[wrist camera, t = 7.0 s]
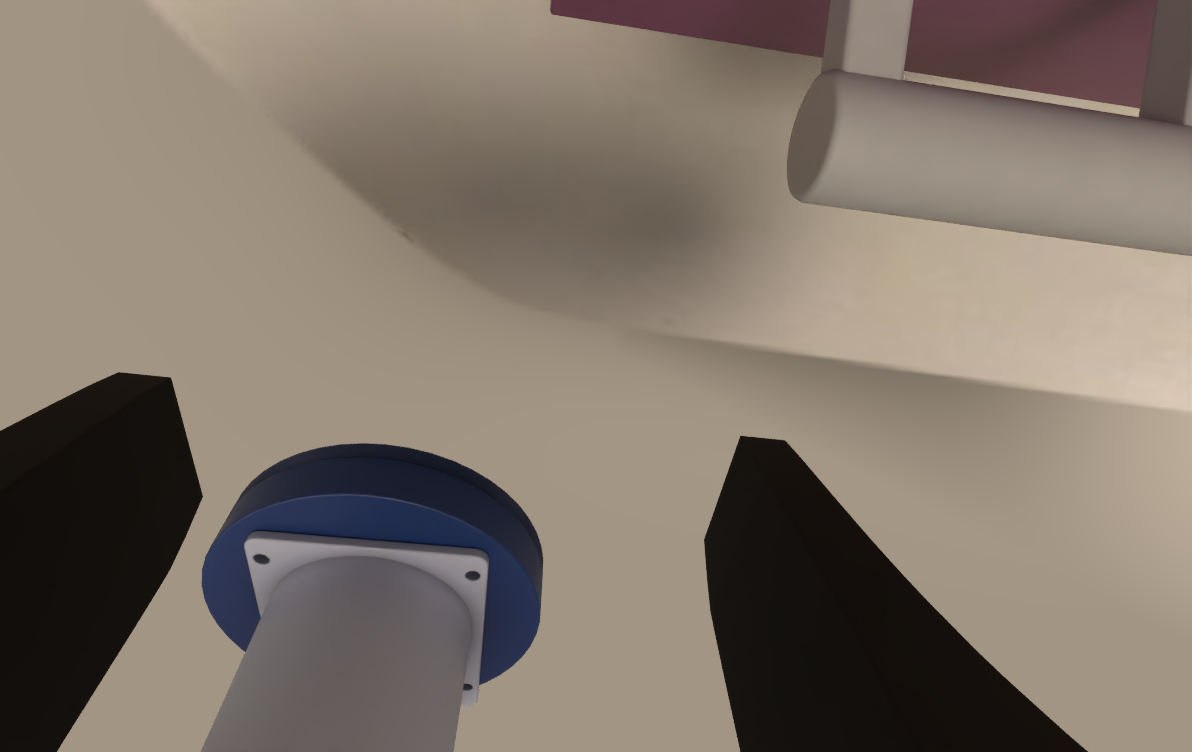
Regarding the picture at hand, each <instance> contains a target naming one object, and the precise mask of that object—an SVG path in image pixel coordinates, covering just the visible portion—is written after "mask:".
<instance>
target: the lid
mask: <svg viewBox="0 0 1192 752" xmlns="http://www.w3.org/2000/svg"><path fill="white" fill-rule="evenodd" d="M550 11H551V13H552V14H553V15H559V16H565V17H572V18H578V19H584V20H590V21H597V22H603V23H609V24H615V25H622V26H628V27H634V28H640V29H647V30H653V31H659V32H665V33H672V34H678V35H684V36H690V37H697V38H703V39H709V40H715V41H722V42H728V43H734V44H740V45H747V46H753V47H759V48H765V49H772V50H778V51H784V52H790V53H797V54H803V55H809V56H815V57H822V58H823V63H822V71H821V75H819V76H818V77H817V78H816V79H815V81H814V82H813V83H812V85H811V86H810V88H809V90H808V91H807V93H806V95H805V97H804V99H803V101H802V104H801V106H800V108H799V111H798V113H797V116H796V119H795V122H794V126H793V130H792V134H791V138H790V143H789V150H788V158H787V179H788V186H789V190H790V192H791V194H792V196H793V197H794V198H795V199H797V200H798V201H800V202H802V203H809V204H816V205H824V206H831V207H838V208H845V209H853V210H860V211H867V212H874V213H882V214H889V215H896V216H903V217H911V218H918V219H925V220H932V221H940V222H947V223H954V224H961V225H969V226H976V227H983V228H990V229H998V230H1005V231H1012V232H1019V233H1027V234H1034V235H1041V236H1048V237H1056V238H1063V239H1070V240H1077V241H1085V242H1092V243H1099V244H1106V245H1114V246H1121V247H1128V248H1135V249H1143V250H1150V251H1157V252H1164V253H1172V254H1179V255H1187V256H1192V0H551V8H550ZM904 71H909V72H916V73H922V74H928V75H934V76H941V77H947V78H953V79H959V80H966V81H972V82H978V83H984V84H991V85H997V86H1003V87H1009V88H1016V89H1022V90H1028V91H1034V92H1041V93H1047V94H1053V95H1059V96H1066V97H1072V98H1078V99H1084V100H1091V101H1097V102H1103V103H1109V104H1116V105H1122V106H1128V107H1134V108H1140V112H1139V117H1132V116H1126V115H1120V114H1113V113H1107V112H1101V111H1094V110H1088V109H1082V108H1076V107H1069V106H1063V105H1057V104H1050V103H1044V102H1038V101H1031V100H1025V99H1019V98H1012V97H1006V96H1000V95H994V94H987V93H981V92H975V91H968V90H962V89H956V88H949V87H943V86H937V85H930V84H924V83H918V82H911V81H905V80H903V74H904Z"/></svg>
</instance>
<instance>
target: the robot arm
mask: <svg viewBox="0 0 1192 752" xmlns="http://www.w3.org/2000/svg"><path fill="white" fill-rule="evenodd" d="M202 497H203V496H202V492H201V488H200V484H199V480H198V477H197V473H196V469H195V466H194V462H193V458H192V454H191V451H190V447H189V443H188V439H187V436H186V432H185V428H184V424H183V421H182V417H181V413H180V410H179V406H178V402H177V398H176V395H175V391H174V387H173V383H172V380H171V378H169V377H160V376H159V377H158V376H150V375H140V374H130V373H120V372H118V373H116V374H114V375H111V376H109V377H107V378H105V379H103V380H100V381H98V382H96V383H94V384H92V385H89V386H87V387H85V388H83V389H81V390H80V391H77V392H75V393H73V394H71V395H69V396H67V397H65V398H63V399H62V400H60V401H57V402H55V403H54V404H51V405H49V406H48V407H46V408H44V409H42V410H40V411H38V412H36V413H34V414H32V415H30V416H28V417H26V418H24V419H23V420H21V421H19V422H17V423H15V424H13V425H11V426H9V427H7V428H5V429H3V430H1V431H0V752H57V751H58V749H59V747H60V746H61V744H62V742H63V741H64V739H65V738H66V736H67V734H68V733H69V731H70V730H71V728H72V726H73V725H74V723H75V722H76V720H77V719H78V717H79V715H80V714H81V712H82V710H83V709H84V707H85V706H86V704H87V703H88V701H89V699H90V698H91V696H92V695H93V693H94V691H95V690H96V688H97V686H98V685H99V684H100V682H101V680H102V679H103V677H104V676H105V674H106V672H107V671H108V669H109V668H110V666H111V664H112V663H113V661H114V660H115V658H116V656H117V655H118V653H119V652H120V650H121V648H122V647H123V645H124V644H125V642H126V641H127V639H128V637H129V636H130V634H131V633H132V631H133V629H134V628H135V626H136V624H137V623H138V621H139V620H140V618H141V616H142V615H143V613H144V612H145V610H146V608H147V607H148V605H149V603H150V602H151V600H152V599H153V597H154V595H155V594H156V592H157V590H158V589H159V587H160V585H161V584H162V582H163V580H164V579H165V577H166V575H167V574H168V572H169V570H170V569H171V566H172V564H173V562H174V560H175V558H176V556H177V554H178V551H179V550H180V547H181V545H182V543H183V541H184V539H185V537H186V535H187V532H188V530H189V527H190V525H191V523H192V520H193V518H194V516H195V514H196V511H197V509H198V507H199V504H200V502H201V500H202ZM704 544H705V557H706V570H707V582H708V592H709V601H710V611H711V616H712V621H713V626H714V631H715V635H716V640H717V645H718V650H719V655H720V659H721V664H722V669H723V673H724V678H725V683H726V687H727V692H728V696H729V701H730V706H731V710H732V715H733V719H734V724H735V729H736V733H737V738H738V742H739V747H740V752H1088V751H1086V750H1085V749H1084V748H1083V747H1081V746H1080V745H1079V744H1078V743H1077V742H1076V741H1075V740H1074V739H1072V738H1071V737H1070V736H1069V735H1068V734H1067V733H1065V732H1064V731H1063V730H1062V729H1061V728H1060V727H1059V726H1057V724H1056V723H1054V722H1053V721H1052V720H1051V719H1050V718H1049V717H1048V716H1046V715H1045V714H1044V713H1043V712H1042V711H1041V710H1040V709H1039V708H1038V707H1037V706H1036V705H1034V704H1033V703H1032V702H1031V701H1030V700H1029V699H1028V698H1027V697H1026V696H1025V695H1023V694H1022V693H1021V692H1020V691H1019V690H1018V689H1017V688H1016V687H1015V686H1013V685H1012V684H1011V683H1010V682H1009V681H1008V680H1007V679H1006V678H1005V677H1003V676H1002V675H1001V674H1000V673H999V672H998V671H997V670H996V669H995V668H994V667H993V666H992V665H991V664H990V663H989V662H988V661H987V660H986V659H985V658H984V657H983V656H982V655H980V654H979V653H978V652H977V651H976V650H975V649H974V648H973V647H972V646H971V645H970V644H969V643H968V642H967V641H966V640H965V639H964V638H963V637H962V636H961V635H960V634H959V633H958V632H957V630H956V629H955V628H953V626H951V624H950V623H948V621H947V620H946V619H945V618H944V617H943V616H942V615H941V614H940V613H939V612H938V611H937V610H936V609H935V608H934V607H933V606H932V605H931V604H930V603H929V602H928V601H927V600H926V599H925V598H924V597H923V596H922V595H921V594H920V593H919V592H918V591H917V589H916V588H915V587H914V586H913V585H912V584H911V583H910V582H909V581H908V580H907V579H906V578H905V577H904V576H903V575H902V573H901V572H900V571H899V570H898V569H897V568H896V567H895V566H894V565H893V563H892V562H891V561H890V560H889V559H888V558H887V557H886V556H885V555H884V554H883V552H882V551H881V550H880V549H879V548H878V547H877V546H876V545H875V543H874V542H873V541H872V540H871V539H870V538H869V537H868V536H867V535H866V533H865V532H864V531H863V530H862V529H861V528H860V526H859V525H858V524H857V523H856V522H855V521H854V520H853V518H852V517H851V516H850V515H849V514H848V513H847V511H846V510H845V509H844V508H843V507H842V506H841V505H840V503H839V502H838V501H837V500H836V499H835V497H834V496H833V495H832V494H831V493H830V492H829V491H828V489H827V488H826V487H825V486H824V485H823V483H822V482H821V481H820V480H819V479H818V478H817V476H816V475H815V474H814V473H813V472H812V471H811V469H810V468H809V467H808V466H807V465H806V463H805V462H804V461H803V460H802V459H801V458H800V457H799V455H798V454H797V453H796V452H795V451H794V450H793V449H792V448H791V447H790V445H789V444H788V443H787V442H786V441H784V440H776V439H765V438H756V437H747V436H740V439H739V442H738V445H737V447H736V450H735V453H734V456H733V459H732V462H731V465H730V467H729V470H728V473H727V476H726V479H725V482H724V485H723V487H722V490H721V493H720V496H719V499H718V502H717V505H716V508H715V510H714V513H713V516H712V519H711V522H710V525H709V528H708V530H707V533H706V536H705V539H704ZM244 548H245V553H246V557H247V561H248V565H249V570H250V574H251V578H252V583H253V587H254V591H255V595H256V600H257V604H258V608H259V613H260V617H261V619H260V621H259V623H258V625H257V628H256V630H255V632H254V634H253V637H252V639H251V641H250V643H249V645H248V648H247V650H246V652H245V654H244V657H243V659H242V661H241V663H240V665H239V668H238V670H237V672H236V674H235V677H234V679H233V681H232V683H231V686H230V688H229V690H228V693H227V695H226V697H225V699H224V701H223V703H222V706H221V708H220V710H219V712H218V714H217V717H216V719H215V721H214V723H213V725H212V728H211V730H210V732H209V734H208V737H207V739H206V741H205V743H204V746H203V748H202V750H201V752H453V751H454V744H455V738H456V731H457V725H458V718H459V712H460V706H471V705H474V704H475V703H476V702H477V700H478V693H479V681H480V668H481V656H482V644H483V631H484V619H485V606H486V594H487V582H488V569H489V556H488V555H487V553H486V552H484V551H482V550H480V549H476V548H464V547H452V546H440V545H428V544H416V543H403V542H391V541H379V540H367V539H355V538H343V537H331V536H318V535H306V534H294V533H282V532H270V531H255V532H252V533H251V534H250V535H249V536H248V538H247V539H246V541H245V543H244Z"/></svg>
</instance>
